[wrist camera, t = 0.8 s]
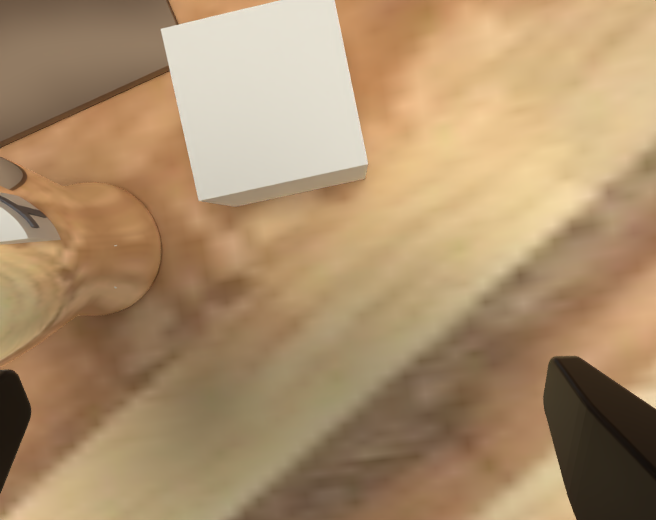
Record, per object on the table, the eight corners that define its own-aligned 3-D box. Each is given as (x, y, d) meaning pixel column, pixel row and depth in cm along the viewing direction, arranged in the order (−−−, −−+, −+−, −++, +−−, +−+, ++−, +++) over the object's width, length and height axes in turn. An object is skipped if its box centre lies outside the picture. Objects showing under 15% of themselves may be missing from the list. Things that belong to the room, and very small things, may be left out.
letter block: (230, 207, 25) (192, 202, 19) (201, 77, 25) (153, 30, 19) (364, 179, 25) (368, 164, 19) (337, 46, 25) (331, -13, 19)
